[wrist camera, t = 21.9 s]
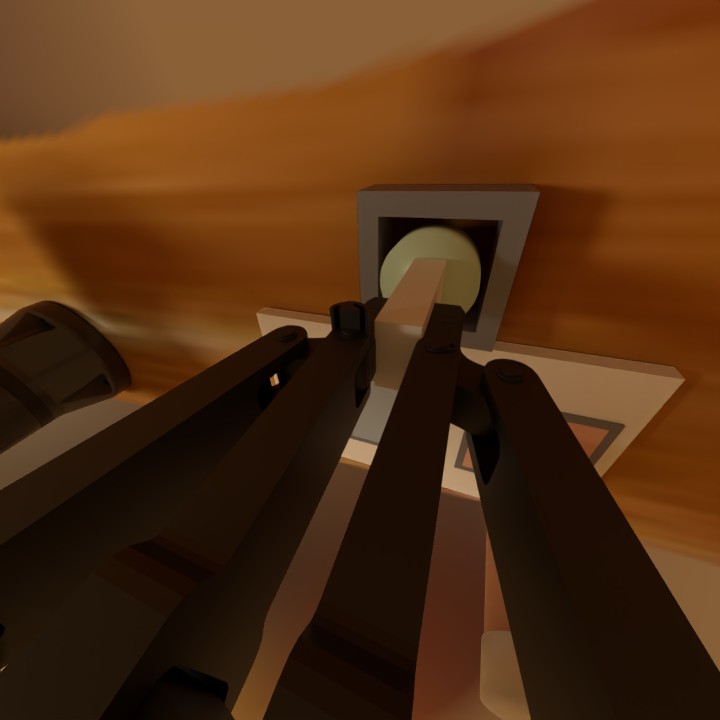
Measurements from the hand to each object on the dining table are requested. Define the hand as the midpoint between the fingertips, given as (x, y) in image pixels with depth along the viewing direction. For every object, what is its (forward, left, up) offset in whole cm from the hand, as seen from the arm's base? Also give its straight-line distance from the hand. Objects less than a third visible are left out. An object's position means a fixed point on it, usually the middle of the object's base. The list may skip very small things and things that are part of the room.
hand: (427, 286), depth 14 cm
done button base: (0, 0, -4) cm, 4 cm away
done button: (0, 0, -2) cm, 2 cm away
